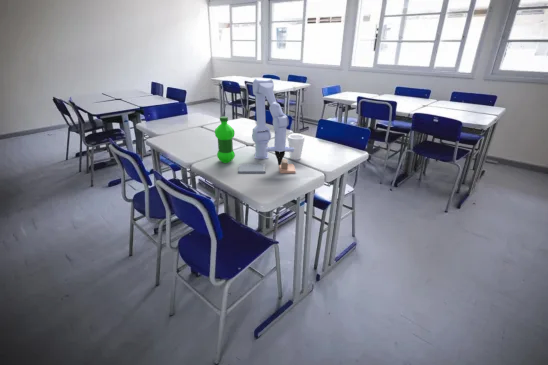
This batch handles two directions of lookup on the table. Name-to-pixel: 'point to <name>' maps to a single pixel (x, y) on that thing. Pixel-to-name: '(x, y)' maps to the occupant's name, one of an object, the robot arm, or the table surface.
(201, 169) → the table surface
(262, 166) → the board
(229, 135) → the plastic bottle
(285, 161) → the stub
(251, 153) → the table surface
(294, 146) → the foam cup
